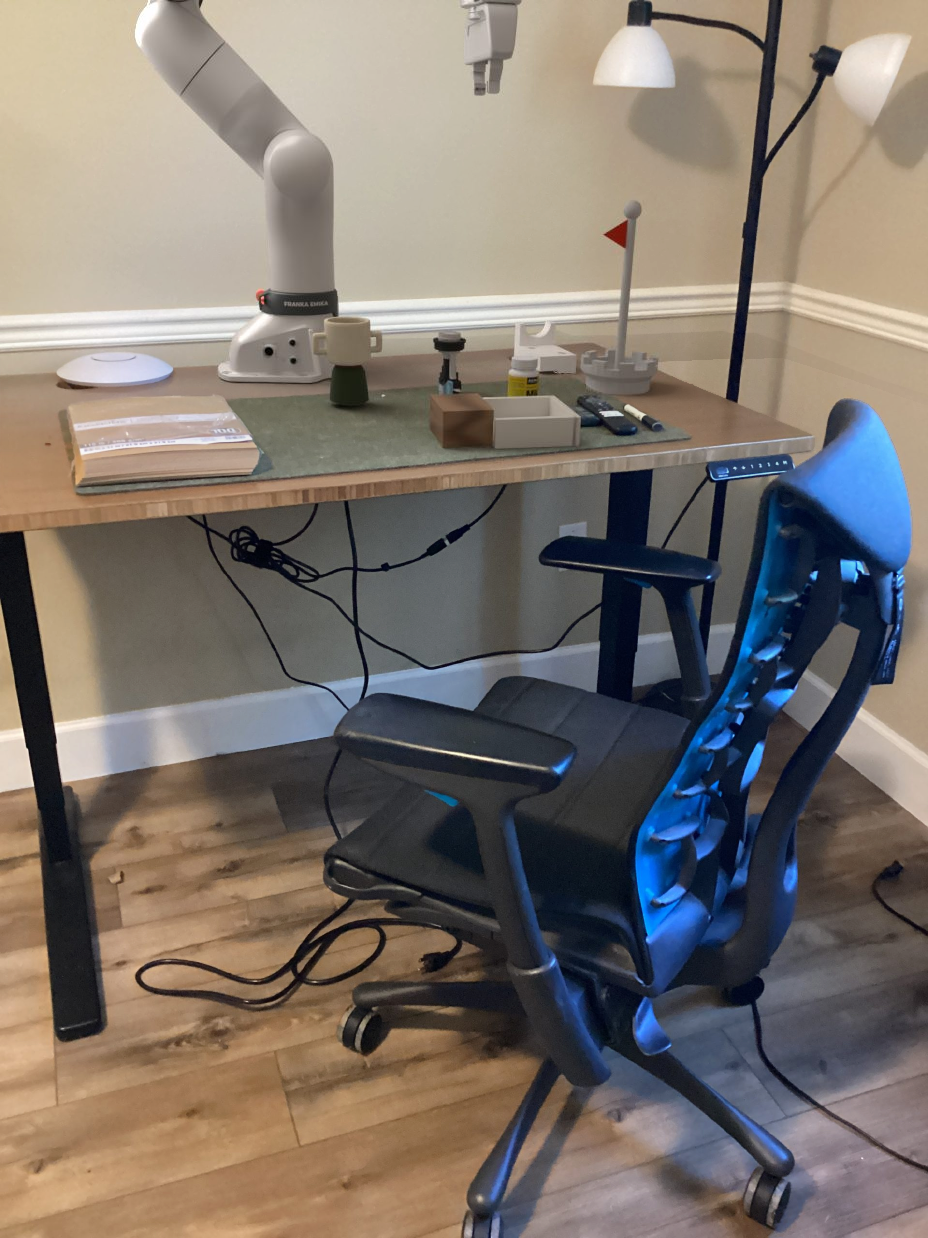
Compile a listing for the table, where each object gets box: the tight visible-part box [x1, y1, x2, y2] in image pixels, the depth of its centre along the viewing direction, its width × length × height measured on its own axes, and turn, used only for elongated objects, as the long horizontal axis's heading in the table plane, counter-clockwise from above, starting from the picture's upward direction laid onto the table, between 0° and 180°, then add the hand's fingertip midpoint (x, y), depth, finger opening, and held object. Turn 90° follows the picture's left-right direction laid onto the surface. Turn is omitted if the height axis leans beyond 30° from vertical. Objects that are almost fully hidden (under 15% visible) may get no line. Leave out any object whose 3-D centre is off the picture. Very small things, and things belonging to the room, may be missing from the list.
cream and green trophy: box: [312, 316, 383, 406], centre depth 157 cm, size 11×7×13 cm, turn 109°
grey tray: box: [482, 395, 582, 450], centre depth 145 cm, size 12×13×4 cm
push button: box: [432, 330, 467, 394], centre depth 164 cm, size 7×5×10 cm
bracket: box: [513, 320, 578, 374], centre depth 188 cm, size 13×7×8 cm, turn 18°
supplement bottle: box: [507, 355, 540, 397], centre depth 156 cm, size 5×5×8 cm
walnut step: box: [429, 392, 494, 449], centre depth 143 cm, size 7×10×5 cm
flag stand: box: [580, 199, 659, 396], centre depth 169 cm, size 13×13×30 cm
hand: (486, 94), depth 165 cm, fingers open, 8 cm apart
